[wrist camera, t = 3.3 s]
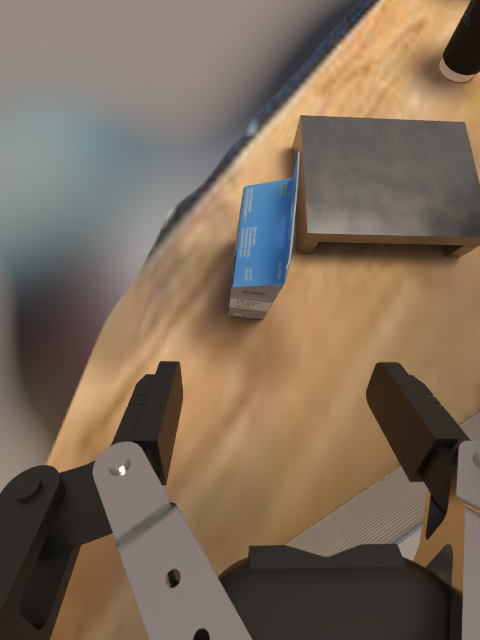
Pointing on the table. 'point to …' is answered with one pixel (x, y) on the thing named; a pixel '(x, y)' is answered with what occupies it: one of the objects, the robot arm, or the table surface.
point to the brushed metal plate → (386, 183)
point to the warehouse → (377, 514)
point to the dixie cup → (463, 47)
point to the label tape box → (263, 246)
